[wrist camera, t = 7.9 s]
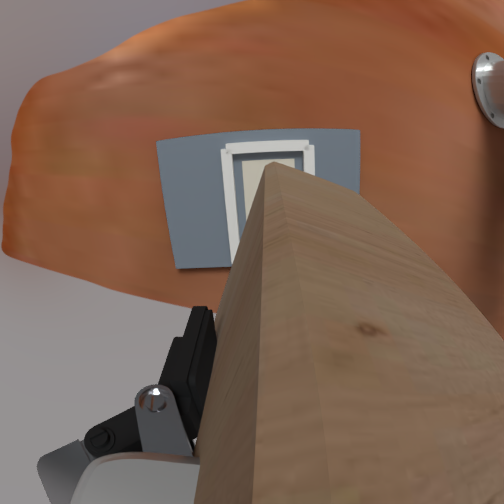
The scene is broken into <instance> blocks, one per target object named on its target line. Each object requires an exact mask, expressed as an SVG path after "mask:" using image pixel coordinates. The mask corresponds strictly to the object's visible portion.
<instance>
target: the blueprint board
mask: <svg viewBox="0 0 504 504" xmlns="http://www.w3.org/2000/svg"><path fill="white" fill-rule="evenodd" d="M156 145H157V153H158V162H159V169H160V177H161V184H162V191H163V197H164V204H165V210H166V216H167V222H168V228H169V233H170V239H171V244H172V250H173V255H174V260H175V265H176V269H180V268H208V267H232V264H233V261H234V258H235V255H236V252H237V249H238V245H239V242H240V239H241V236H242V233H243V230H244V227H245V224H246V221H247V218H248V215H249V212H250V209H251V206H252V203H253V200H254V197H255V194H256V191H257V188H258V185H259V182H260V179H261V176H262V173H263V170H264V167H265V165H267V164H269V163H271V162H273V161H275V162H278V163H281V164H284V165H286V166H289V167H292V168H295V169H298V170H301V171H303V172H306V173H309V174H312V175H314V176H317V177H320V178H322V179H325V180H328V181H330V182H333V183H335V184H338V185H340V186H343V187H345V188H348V189H350V190H353V191H355V192H356V193H357V194H359V188H360V130H351V129H267V130H249V131H235V132H224V133H213V134H204V135H196V136H188V137H180V138H173V139H167V140H160V141H156Z"/></svg>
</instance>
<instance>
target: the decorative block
mask: <svg viewBox="0 0 504 504" xmlns="http://www.w3.org/2000/svg"><path fill="white" fill-rule="evenodd" d="M214 324H215V330H216V336H217V346H216V352H215V357H214V363H213V368H212V373H211V378H210V382H209V387H208V391H207V396H206V401H205V405H204V410H203V414H202V419H201V424H200V428H199V432H198V436H197V440H196V444H195V448H194V452H193V456H194V457H199V458H200V469H199V475H198V480H197V486H196V492H195V498H194V504H504V341H503V339H502V338H501V337H500V335H499V334H498V333H497V332H496V330H495V329H494V328H493V327H492V325H491V324H490V323H489V322H488V320H487V319H486V318H485V317H484V316H483V314H482V313H481V312H480V311H479V310H478V308H477V307H476V306H475V305H474V304H473V303H472V302H471V300H470V299H469V298H468V297H467V296H466V295H465V294H464V293H463V291H462V290H461V289H460V288H459V287H458V286H457V285H456V284H455V283H454V282H453V281H452V280H451V279H450V278H449V276H448V275H447V274H446V273H445V272H444V271H443V270H442V269H441V268H440V267H439V266H438V265H437V264H436V263H435V262H434V261H433V260H432V259H431V258H430V257H429V256H428V255H427V254H426V253H425V252H423V251H422V250H421V249H420V248H419V247H418V246H417V245H416V244H415V243H414V242H413V241H412V240H411V239H410V238H409V237H407V236H406V235H405V234H404V233H403V232H402V231H401V230H400V229H399V228H398V227H396V226H395V225H394V224H393V223H392V222H391V221H390V220H388V219H387V218H386V217H385V216H384V215H383V214H382V213H380V212H379V211H378V210H377V209H376V208H374V207H373V206H372V205H371V204H370V203H368V202H367V201H366V200H365V199H364V198H362V197H361V196H360V195H359V194H357V193H356V192H355V191H353V190H350V189H348V188H345V187H343V186H340V185H338V184H335V183H333V182H330V181H328V180H325V179H322V178H320V177H317V176H314V175H312V174H309V173H306V172H303V171H301V170H298V169H295V168H292V167H289V166H286V165H284V164H281V163H278V162H275V161H273V162H271V163H269V164H267V165H265V167H264V170H263V173H262V176H261V179H260V182H259V185H258V188H257V191H256V194H255V197H254V200H253V203H252V206H251V209H250V212H249V215H248V218H247V221H246V224H245V227H244V230H243V233H242V236H241V239H240V242H239V245H238V249H237V252H236V255H235V258H234V261H233V264H232V267H231V270H230V273H229V276H228V280H227V283H226V286H225V289H224V292H223V295H222V298H221V301H220V305H219V308H218V311H217V314H216V318H215V322H214Z"/></svg>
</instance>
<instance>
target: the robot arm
mask: <svg viewBox="0 0 504 504" xmlns="http://www.w3.org/2000/svg"><path fill="white" fill-rule="evenodd" d="M472 83H473V88H474V92H475V96H476V99H477V101H478V104H479V106H480V108H481V110H482V112H483V113H484V115H485V116H486V118H487V119H488V120H489V121H490V122H491V123H492V124H494V125H495V126H497V127H499V128H503V129H504V59H503V58H501V57H500V56H498V55H497V54H494V53H490V52H487V53H482V54H480V55H479V56H478V57H477V58H476V59H475V61H474V64H473V68H472ZM216 346H217V336H216V330H215V324H214V318H213V312H212V310H208V308H207V306H193V308H192V311H191V314H190V317H189V320H188V323H187V326H186V329H185V332H184V335H183V337H175V338H174V339H173V342H172V345H171V347H170V350H169V353H168V356H167V359H166V362H165V365H164V368H163V371H162V374H161V377H160V380H159V383H158V384H155V385H149V386H146V387H144V388H143V389H141V390H140V391H139V392H138V393H137V395H136V397H135V406H134V407H132V408H130V409H128V410H126V411H124V412H122V413H120V414H118V415H116V416H114V417H112V418H110V419H108V420H107V421H104V422H102V423H100V424H98V425H96V426H94V427H93V428H91V429H90V430H89V431H88V432H87V433H86V435H85V438H84V440H82V441H79V440H76V441H74V442H72V443H70V444H67V445H65V446H63V447H61V448H59V449H57V450H55V451H52V452H50V453H48V454H46V455H44V456H42V457H41V458H40V459H39V461H38V464H37V470H38V474H39V476H40V479H41V481H42V484H43V486H44V489H45V491H46V493H47V496H48V498H49V500H50V502H51V504H194V498H195V492H196V486H197V480H198V475H199V469H200V458H199V457H194V456H193V452H194V448H195V443H194V440H193V439H195V438H196V437H197V436H198V432H199V428H200V424H201V419H202V414H203V410H204V405H205V401H206V396H207V391H208V387H209V382H210V378H211V373H212V368H213V363H214V357H215V352H216Z"/></svg>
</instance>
